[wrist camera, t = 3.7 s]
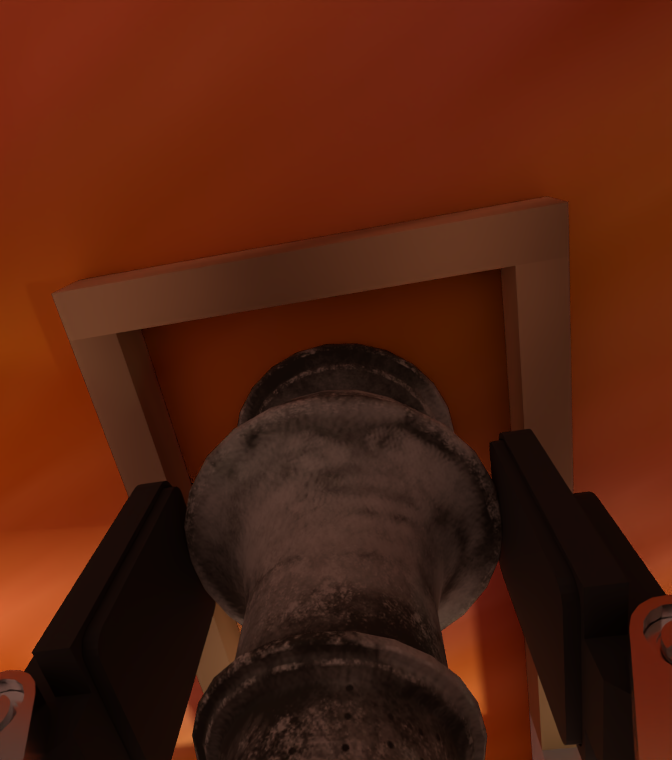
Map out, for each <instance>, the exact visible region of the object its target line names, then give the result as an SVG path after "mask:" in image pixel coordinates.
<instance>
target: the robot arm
mask: <svg viewBox="0 0 672 760" xmlns="http://www.w3.org/2000/svg"><path fill="white" fill-rule="evenodd" d="M489 447H490V460H491V472H492V481H493V482H494V484H495V486H496V490H497V494H498V498H499V503H500V512H501V521H502V546H501V555H500V558H499V562H500V567H501V571H502V574H503V577H504V580H505V583H506V586H507V589H508V591H509V594H510V597H511V600H512V603H513V605H514V608H515V611H516V614H517V617H518V620H519V622H520V625H521V628H522V631H523V634H524V636H525V639H526V642H527V645H528V648H529V650H530V653H531V656H532V659H533V662H534V665H535V667H536V670H537V673H538V676H539V679H540V681H541V684H542V687H543V690H544V693H545V696H546V698H547V701H548V704H549V707H550V710H551V712H552V715H553V718H554V721H555V724H556V726H557V729H558V732H559V735H560V737H561V740H562V742H563V744H564V745H575V744H576V746H577V749H578V751H579V754H580V756H581V759H582V760H672V595H666V594H665V592H664V591H663V590H662V588H661V587H660V585H659V584H658V583H657V581H656V580H655V578H654V577H653V575H652V574H651V573H650V571H649V570H648V568H647V567H646V565H645V564H644V563H643V561H642V560H641V558H640V557H639V556H638V554H637V553H636V551H635V550H634V548H633V547H632V546H631V544H630V543H629V541H628V540H627V539H626V537H625V536H624V534H623V533H622V531H621V530H620V529H619V527H618V526H617V524H616V523H615V521H614V520H613V519H612V517H611V516H610V514H609V513H608V512H607V510H606V509H605V507H604V506H603V504H602V503H601V502H600V500H599V499H598V497H597V496H596V495H595V494H594V493H592V492H582V493H574V494H572V492H571V490H570V489H569V487H568V486H567V484H566V483H565V481H564V479H563V478H562V476H561V475H560V473H559V472H558V470H557V469H556V467H555V465H554V464H553V462H552V461H551V459H550V458H549V456H548V454H547V453H546V451H545V450H544V448H543V447H542V445H541V444H540V442H539V440H538V439H537V437H536V436H535V434H534V433H533V431H532V430H531V429H523V430H516V431H509V432H502V433H500V434H499V441H493V442H490V446H489ZM186 509H187V506H186V503H185V500H184V497H183V495H182V492H181V490H180V488H179V487H177V486H176V487H172V485H171V484H170V483H169V482H168V481H160V482H153V483H146V484H140V485H137V486H136V487H135V489H134V490H133V492H132V493H131V495H130V497H129V498H128V500H127V501H126V503H125V505H124V506H123V508H122V509H121V511H120V513H119V514H118V516H117V517H116V519H115V520H114V522H113V524H112V525H111V527H110V528H109V530H108V532H107V533H106V535H105V536H104V538H103V540H102V541H101V543H100V544H99V546H98V548H97V549H96V551H95V552H94V554H93V556H92V557H91V559H90V560H89V562H88V563H87V565H86V567H85V568H84V570H83V571H82V573H81V575H80V576H79V578H78V579H77V581H76V583H75V584H74V586H73V587H72V589H71V591H70V592H69V594H68V595H67V597H66V598H65V600H64V602H63V603H62V605H61V606H60V608H59V610H58V611H57V613H56V614H55V616H54V618H53V619H52V621H51V622H50V624H49V626H48V627H47V629H46V630H45V632H44V634H43V635H42V637H41V638H40V640H39V641H38V643H37V645H36V646H35V648H34V649H33V651H32V654H33V658H32V660H31V661H30V663H29V665H28V666H27V668H26V669H25V671H24V672H23V671H21V670H7V671H4V672H0V760H171V759H172V756H173V752H174V749H175V745H176V742H177V738H178V735H179V731H180V728H181V725H182V721H183V718H184V714H185V711H186V707H187V704H188V700H189V697H190V694H191V690H192V687H193V683H194V680H195V676H196V673H197V669H198V666H199V663H200V659H201V656H202V652H203V649H204V645H205V642H206V639H207V635H208V632H209V628H210V625H211V621H212V618H213V614H214V611H215V606H216V601H215V600H214V599H213V598H212V597H211V596H210V595H209V594H208V593H207V591H206V590H205V589H204V587H203V585H202V583H201V581H200V579H199V577H198V575H197V573H196V571H195V569H194V567H193V564H192V562H191V559H190V555H189V551H188V547H187V541H186V536H185V530H184V522H185V516H186Z"/></svg>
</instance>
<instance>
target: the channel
mask: <svg viewBox="0 0 672 760" xmlns="http://www.w3.org/2000/svg"><path fill="white" fill-rule="evenodd" d="M499 268H501V281H502V296H503V312H504V327H505V343H506V358H507V373H508V389H509V404H510V420H511V431H516V430H523V429H531V430H532V431H533V433H534V434H535V436H536V437H537V439H538V440H539V442H540V444H541V445H542V447H543V448H544V450H545V451H546V453H547V454H548V456H549V458H550V459H551V461H552V462H553V464H554V465H555V467H556V469H557V470H558V472H559V473H560V475H561V476H562V478H563V479H564V481H565V483H566V484H567V486H568V487H569V489H570V490H571V492H572V494H573V444H572V387H571V329H570V272H569V215H568V202H567V201H563V200H559V199H555V198H551V197H547V196H546V197H541V198H535V199H529V200H524V201H518V202H513V203H507V204H502V205H496V206H490V207H485V208H479V209H474V210H468V211H463V212H457V213H451V214H446V215H440V216H435V217H429V218H423V219H418V220H412V221H407V222H401V223H396V224H390V225H384V226H379V227H373V228H368V229H362V230H356V231H351V232H345V233H340V234H334V235H329V236H323V237H317V238H312V239H306V240H301V241H295V242H290V243H284V244H278V245H273V246H267V247H262V248H256V249H250V250H245V251H239V252H234V253H228V254H223V255H217V256H211V257H206V258H200V259H195V260H189V261H183V262H178V263H172V264H167V265H161V266H156V267H150V268H144V269H139V270H133V271H128V272H122V273H117V274H111V275H105V276H100V277H94V278H89V279H83V280H78V281H76V282H74V283H72V284H70V285H68V286H66V287H64V288H62V289H60V290H58V291H56V292H54V293H52V297H53V299H54V302H55V305H56V307H57V310H58V312H59V315H60V318H61V320H62V323H63V326H64V328H65V331H66V333H67V336H68V339H69V341H70V344H71V347H72V349H73V352H74V355H75V357H76V360H77V362H78V365H79V368H80V370H81V373H82V376H83V378H84V381H85V383H86V386H87V389H88V391H89V394H90V397H91V399H92V402H93V404H94V407H95V410H96V412H97V415H98V418H99V420H100V423H101V425H102V428H103V431H104V433H105V436H106V439H107V441H108V444H109V446H110V449H111V452H112V454H113V457H114V460H115V462H116V465H117V467H118V470H119V473H120V475H121V478H122V481H123V483H124V486H125V488H126V491H127V494H128V496H129V497H130V495H131V493H132V492H133V490H134V489H135V487H136V486H137V485H140V484H146V483H153V482H160V481H168V482H169V483H170V484H171V485H172V487H176V486H177V487H179V488H180V490H181V492H182V495H183V497H184V500H185V503H186V506H187V503H188V496H189V491H190V489H191V487H192V485H191V481H190V478H189V475H188V472H187V469H186V466H185V463H184V460H183V457H182V454H181V451H180V448H179V445H178V442H177V439H176V435H175V432H174V429H173V426H172V423H171V420H170V417H169V414H168V411H167V408H166V405H165V402H164V399H163V396H162V393H161V389H160V386H159V383H158V380H157V377H156V374H155V371H154V368H153V365H152V362H151V359H150V356H149V353H148V350H147V347H146V343H145V340H144V337H143V334H142V331H141V329H144V328H150V327H156V326H162V325H168V324H174V323H179V322H185V321H191V320H197V319H203V318H209V317H215V316H221V315H227V314H233V313H239V312H244V311H250V310H256V309H262V308H268V307H274V306H280V305H286V304H292V303H298V302H304V301H309V300H315V299H321V298H327V297H333V296H339V295H345V294H351V293H357V292H363V291H369V290H374V289H380V288H386V287H392V286H398V285H404V284H410V283H416V282H422V281H428V280H434V279H440V278H445V277H451V276H457V275H463V274H469V273H475V272H481V271H487V270H493V269H499ZM239 638H240V632H239V629H238V626H237V622H236V621H235V620H233V619H232V618H231V617H229V616H228V615H227V614H226V613H225V611H224V610H223V609H222V608H221V607H220V606H219V605H218V604H217V603H216V606H215V611H214V614H213V618H212V621H211V625H210V628H209V632H208V635H207V639H206V642H205V645H204V649H203V652H202V656H201V659H200V663H199V666H198V669H197V673H196V675H197V678H198V680H199V683H200V685H201V688H202V691H203V693H205V691H206V690H207V688H208V686H209V685H210V683H211V682H212V680H213V678H214V677H215V676H216V675H218V674H219V673H220V672H221V671H222V670H223V669H225V668H226V667H227V666H228V665H229V664H231V663H232V662H233V661H234V660H235V656H236V652H237V647H238V643H239ZM525 651H526V667H527V682H528V698H529V712H530V715H531V718H532V721H533V724H534V727H535V730H536V734H537V737H538V740H539V743H540V746H541V749H542V750H553V749H564V748H575V747H577V746H576V744H575V745H564V744H563V742H562V740H561V737H560V735H559V732H558V729H557V726H556V724H555V721H554V718H553V715H552V712H551V710H550V707H549V704H548V701H547V698H546V696H545V693H544V690H543V687H542V684H541V681H540V679H539V676H538V673H537V670H536V667H535V665H534V662H533V659H532V656H531V653H530V650H529V648H528V645H527V642H526V639H525Z"/></svg>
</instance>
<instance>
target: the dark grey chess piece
mask: <svg viewBox="0 0 672 760" xmlns="http://www.w3.org/2000/svg"><path fill="white" fill-rule="evenodd" d="M184 530H185V536H186V541H187V547H188V551H189V555H190V559H191V562H192V564H193V567H194V569H195V571H196V573H197V575H198V577H199V579H200V581H201V583H202V585H203V587H204V589H205V590H206V591H207V593H208V594H209V595H210V596H211V597H212V598H213V599H214V600H215V601H216V603H217V604H218V605H219V606H220V607H221V608H222V609H223V610H224V611H225V613H226V614H227V615H228V616H229V617H231V618H232V619H233V620H235V621H236V622H238V623H239V624H241V625H242V629H241V634H240V638H239V643H238V647H237V652H236V656H235V660H234V661H233V662H232V663H231V664H229V665H228V666H227V667H226V668H225V669H223V670H222V671H221V672H220V673H219V674H218V675H216V676H215V677H214V678H213V680H212V682H211V683H210V685H209V686H208V688H207V690H206V691H205V693H204V695H203V696H202V698H201V700H200V701H199V703H198V707H197V712H196V717H195V723H194V728H193V734H192V737H193V742H194V747H195V752H196V757H197V760H485V752H486V743H487V733H486V729H485V725H484V722H483V719H482V715H481V712H480V708H479V705H478V702H477V700H476V699H475V698H474V696H473V695H472V694H471V692H470V691H469V689H468V688H467V687H466V685H465V684H464V683H463V681H462V680H461V678H460V677H459V676H457V675H456V674H455V673H453V672H452V671H451V670H450V669H448V665H447V660H446V654H445V649H444V644H443V638H442V633H441V631H442V630H443V629H445V628H446V627H447V626H449V625H450V624H451V623H453V622H454V621H456V620H457V619H458V618H460V617H461V616H463V615H464V614H465V613H466V611H467V610H468V609H469V608H470V607H471V605H472V604H473V603H474V602H475V601H476V600H477V598H478V597H479V596H480V595H481V594H482V592H483V591H484V590H485V589H486V588H487V586H488V583H489V581H490V579H491V576H492V574H493V572H494V570H495V567H496V565H497V563H498V560H499V558H500V555H501V546H502V521H501V512H500V503H499V498H498V494H497V490H496V486H495V484H494V482H493V481H492V479H491V477H490V476H489V474H488V472H487V471H486V469H485V467H484V466H483V464H482V462H481V461H480V459H479V457H478V456H477V454H476V452H475V451H474V450H473V449H472V448H470V447H469V446H468V445H467V444H466V443H465V442H464V441H463V440H462V439H460V438H459V437H458V436H457V435H456V434H455V433H454V430H453V426H452V422H451V418H450V414H449V410H448V407H447V405H446V403H445V402H444V400H443V398H442V397H441V395H440V393H439V392H438V390H437V388H436V387H435V385H434V383H433V382H432V381H430V380H429V379H428V378H427V377H426V376H425V375H424V374H423V373H422V372H421V371H420V370H419V369H418V368H416V367H415V366H414V365H413V364H412V363H410V362H408V361H406V360H404V359H402V358H400V357H398V356H396V355H394V354H392V353H390V352H389V351H387V350H382V349H378V348H374V347H369V346H365V345H361V344H326V345H322V346H319V347H315V348H312V349H308V350H304V351H301V352H297V353H296V354H294V355H292V356H290V357H289V358H287V359H285V360H284V361H282V362H280V363H279V364H277V365H275V366H273V367H272V368H271V369H270V370H269V371H268V372H267V373H266V374H265V375H264V376H263V377H262V378H261V379H260V380H259V381H258V383H257V384H256V385H255V386H254V387H253V388H252V390H251V392H250V394H249V396H248V398H247V400H246V402H245V404H244V405H243V407H242V409H241V411H240V415H239V421H238V426H237V427H236V428H234V429H233V430H232V432H231V433H230V434H229V435H228V436H227V437H226V438H225V439H224V440H223V441H222V442H221V443H220V444H219V445H218V446H217V447H216V448H215V449H214V450H213V451H212V452H211V453H210V454H209V455H208V456H207V458H206V460H205V462H204V464H203V465H202V467H201V469H200V471H199V473H198V475H197V477H196V479H195V481H194V483H193V485H192V487H191V489H190V491H189V496H188V503H187V509H186V516H185V522H184Z"/></svg>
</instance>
